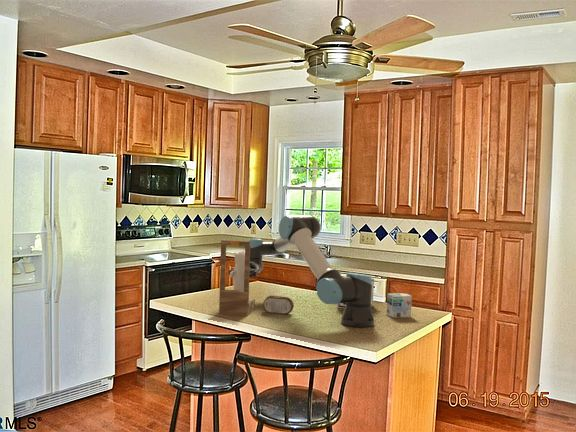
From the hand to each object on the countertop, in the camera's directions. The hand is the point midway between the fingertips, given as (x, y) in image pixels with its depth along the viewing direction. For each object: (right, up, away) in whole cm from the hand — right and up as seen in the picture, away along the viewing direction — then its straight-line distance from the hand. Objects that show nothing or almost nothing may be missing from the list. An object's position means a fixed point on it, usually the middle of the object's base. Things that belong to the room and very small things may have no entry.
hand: (237, 275), depth 272 cm
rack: (0, -18, -1) cm, 18 cm away
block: (+60, -19, +21) cm, 67 cm away
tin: (+20, -19, -1) cm, 27 cm away
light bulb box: (+80, -21, +2) cm, 82 cm away
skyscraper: (+1, -15, +6) cm, 16 cm away
